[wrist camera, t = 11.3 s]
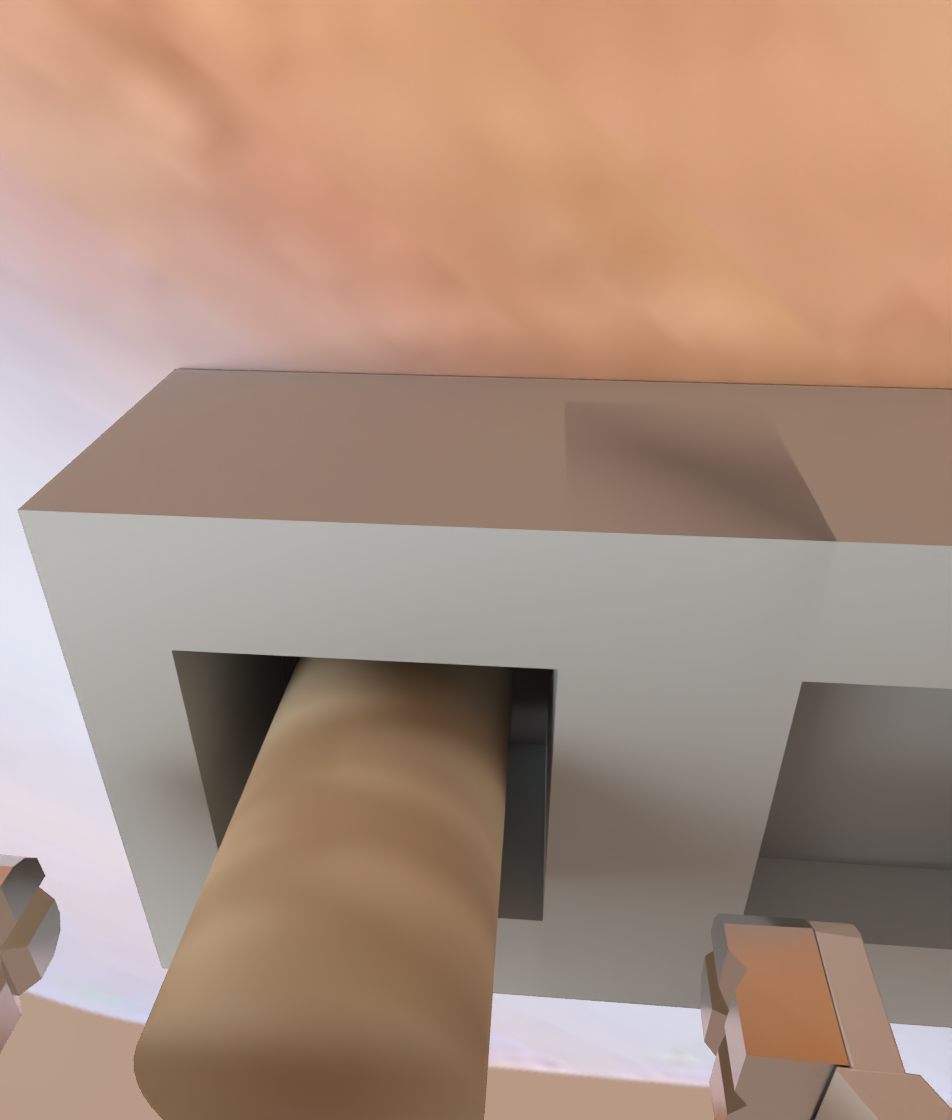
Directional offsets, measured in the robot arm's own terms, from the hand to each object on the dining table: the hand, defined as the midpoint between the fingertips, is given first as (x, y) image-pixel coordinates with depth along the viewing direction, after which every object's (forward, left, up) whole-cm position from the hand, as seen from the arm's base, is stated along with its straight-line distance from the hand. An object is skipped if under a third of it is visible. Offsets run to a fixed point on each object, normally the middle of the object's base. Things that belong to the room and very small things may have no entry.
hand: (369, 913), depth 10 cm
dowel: (0, 0, -6) cm, 6 cm away
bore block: (-4, 0, -7) cm, 8 cm away
